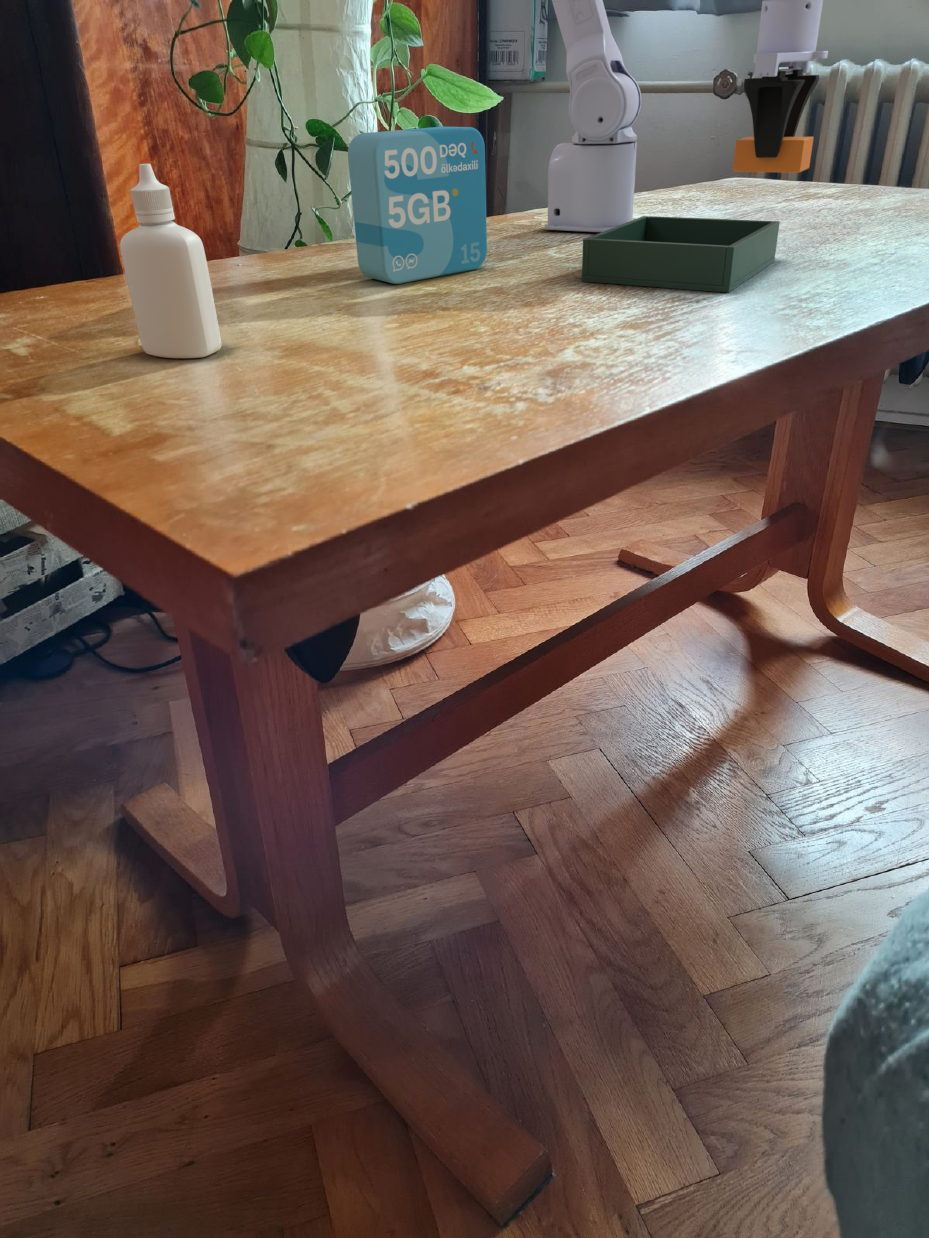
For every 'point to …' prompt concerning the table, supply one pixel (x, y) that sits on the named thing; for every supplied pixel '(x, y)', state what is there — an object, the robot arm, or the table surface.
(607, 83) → the robot arm
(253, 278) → the table surface
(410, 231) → the data package
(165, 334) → the eye dropper bottle
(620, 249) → the bin
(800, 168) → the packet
